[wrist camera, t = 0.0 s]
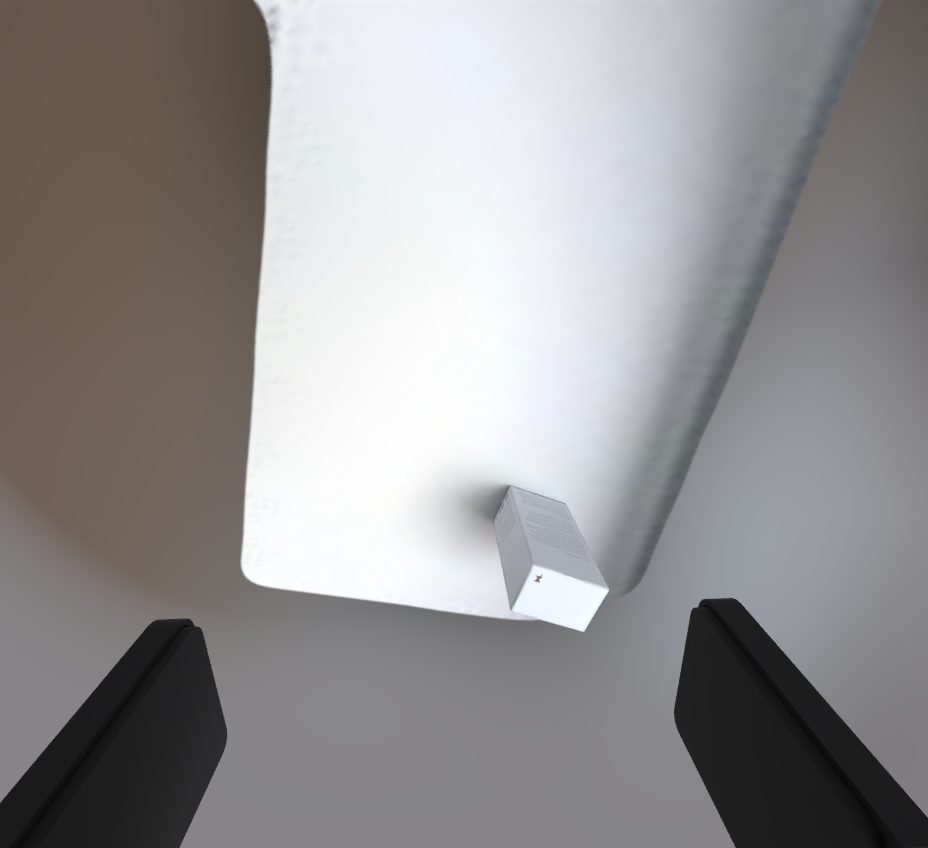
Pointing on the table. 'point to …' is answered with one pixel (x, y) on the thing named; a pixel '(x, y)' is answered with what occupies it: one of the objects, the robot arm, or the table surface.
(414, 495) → the table surface
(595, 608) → the skincare box
